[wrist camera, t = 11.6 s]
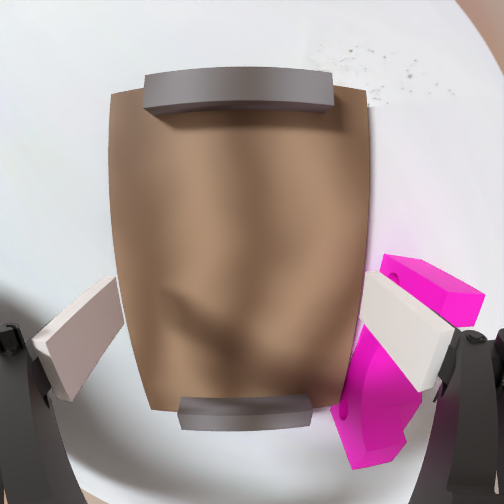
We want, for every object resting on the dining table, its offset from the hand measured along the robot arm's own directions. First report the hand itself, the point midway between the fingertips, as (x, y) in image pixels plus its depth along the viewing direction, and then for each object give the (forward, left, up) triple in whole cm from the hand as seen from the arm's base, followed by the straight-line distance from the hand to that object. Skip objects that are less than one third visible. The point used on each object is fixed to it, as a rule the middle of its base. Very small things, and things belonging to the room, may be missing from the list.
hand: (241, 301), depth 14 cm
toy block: (+12, -7, -5) cm, 15 cm away
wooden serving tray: (0, 0, -4) cm, 4 cm away
